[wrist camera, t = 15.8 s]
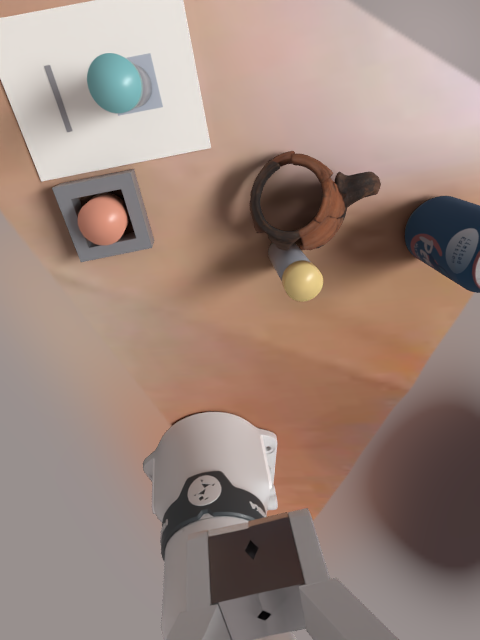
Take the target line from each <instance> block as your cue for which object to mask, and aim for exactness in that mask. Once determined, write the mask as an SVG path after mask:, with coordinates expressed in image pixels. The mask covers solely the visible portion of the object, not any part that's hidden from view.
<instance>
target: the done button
mask: <svg viewBox="0 0 480 640" xmlns="http://www.w3.org/2000/svg"><path fill="white" fill-rule="evenodd" d="M129 219H130V216H129V213H128V209H127V206H126V204H125V202H124V201H123V200H122V199H121V198H119V197H118V196H116V195H114V194H110V193H101V194H98V195H96V196H94V197H93V198H92V199H91V200H90V201H89V202H87V203H86V204H85V205H84V206H83V207H82V208H81V210H80V212H79V214H78V226H79V229H80V231H81V233H82V234H83V236H84V237H85V238H86V239H88V240H89V241H90V242H92V243H94V244H97V245H111V244H113V243H115V242H117V241H118V240H119V239H120V238H121V236H122V235H123V233H124V231H125V229H126V227H127V225H128V223H129Z"/></svg>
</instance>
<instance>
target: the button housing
mask: <svg viewBox="0 0 480 640" xmlns="http://www.w3.org/2000/svg"><path fill="white" fill-rule="evenodd" d="M52 189H53V192H54V194H55V197H56V199H57V202H58V205H59V207H60V210H61V212H62V215H63V217H64V220H65V223H66V225H67V228H68V230H69V233H70V235H71V238H72V241H73V243H74V246H75V248H76V251H77V253H78V256H79V259H80V261H81V262H84V261H89V260H94V259H99V258H104V257H109V256H114V255H119V254H124V253H129V252H134V251H139V250H144V249H149V248H152V247H153V243H154V238H153V234H152V231H151V227H150V224H149V220H148V217H147V213H146V210H145V206H144V203H143V199H142V196H141V192H140V189H139V185H138V182H137V178H136V175H135V171H134V169H131V170H126V171H121V172H116V173H111V174H106V175H101V176H96V177H91V178H85V179H80V180H75V181H70V182H65V183H60V184H58V185H57V186H55V187H53V188H52ZM119 189H121V190H122V193H123V196H124V200H125V203H126V206H127V209H128V213H129V216H130V219H131V222H132V226H133V229H134V232H133V233H128V234H123V235H122V236H121V238H120V239H119V240H118V241H117V242H115V243H113V244H111V245H97V244H94V243H92V242H90V241H89V240H88V239H86V238H85V237H84V236H83V234H82V233H81V231H80V229H79V226H78V214H79V212H80V210H81V208H82V205H81V202H80V199H79V197H84V196H89V195H94V194H99V193H104V192H109V191H114V190H119Z"/></svg>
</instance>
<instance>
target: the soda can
mask: <svg viewBox="0 0 480 640" xmlns="http://www.w3.org/2000/svg"><path fill="white" fill-rule="evenodd" d="M405 242H406V246H407V248H408V250H409V252H410V253H411V254H412V255H413V256H415V257H416V258H418V259H419V260H421V261H422V262H424V263H426V264H427V265H429V266H430V267H432V268H434V269H435V270H437V271H438V272H440V273H441V274H443V275H445V276H446V277H448V278H449V279H451V280H452V281H454V282H456V283H457V284H459V285H460V286H462V287H464V288H465V289H467V290H469V291H472V292H477V293H480V206H479V205H476V204H473V203H470V202H467V201H464V200H461V199H457V198H454V197H451V196H439V197H435V198H432V199H430V200H428V201H426V202H424V203H423V204H422V205H420V206H419V207H418V208H417V209H416V210H415V211H414V212H413V213H412V214H411V216H410V217H409V219H408V222H407V224H406V229H405Z"/></svg>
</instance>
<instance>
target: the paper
mask: <svg viewBox="0 0 480 640" xmlns="http://www.w3.org/2000/svg"><path fill="white" fill-rule="evenodd" d="M105 53H114V54H118V55H120V56H123V57H125V58H126V59H128V60H129V61H131V62H132V63H134V64H136V65H138V66H140V67H142V68H143V69H144V70H145V71H146V72H147V74H148V75H149V77H150V79H151V83H152V94H151V97H150V99H149V100H148V102H147V103H146V104H144V105H143V106H140V107H137V108H134V109H132V110H130V111H128V112H124V113H111V112H108V111H106V110H104V109H103V108H101V107H100V106H99V105H98V104H97V103H96V102H95V100H94V99H93V97H92V96H91V94H90V91H89V89H88V84H87V73H88V69H89V66H90V64H91V63H92V61H93V60H94V59H95V58H96V57H98V56H99V55H102V54H105ZM0 79H1V81H2V84H3V86H4V89H5V91H6V94H7V96H8V99H9V101H10V104H11V106H12V109H13V111H14V114H15V116H16V119H17V121H18V124H19V126H20V129H21V131H22V134H23V136H24V139H25V142H26V144H27V147H28V149H29V152H30V154H31V157H32V159H33V162H34V164H35V167H36V169H37V172H38V174H39V177H40V179H41V181H46V180H51V179H56V178H61V177H67V176H72V175H77V174H82V173H87V172H92V171H97V170H102V169H107V168H112V167H117V166H122V165H127V164H132V163H137V162H143V161H148V160H153V159H158V158H163V157H168V156H173V155H178V154H183V153H188V152H193V151H198V150H203V149H208V148H211V145H210V139H209V134H208V129H207V124H206V118H205V113H204V108H203V103H202V97H201V92H200V87H199V82H198V76H197V71H196V66H195V60H194V55H193V50H192V45H191V39H190V34H189V29H188V24H187V18H186V13H185V8H184V2H183V0H95V1H89V2H84V3H79V4H73V5H68V6H63V7H57V8H52V9H47V10H41V11H36V12H31V13H25V14H20V15H15V16H9V17H4V18H0Z"/></svg>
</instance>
